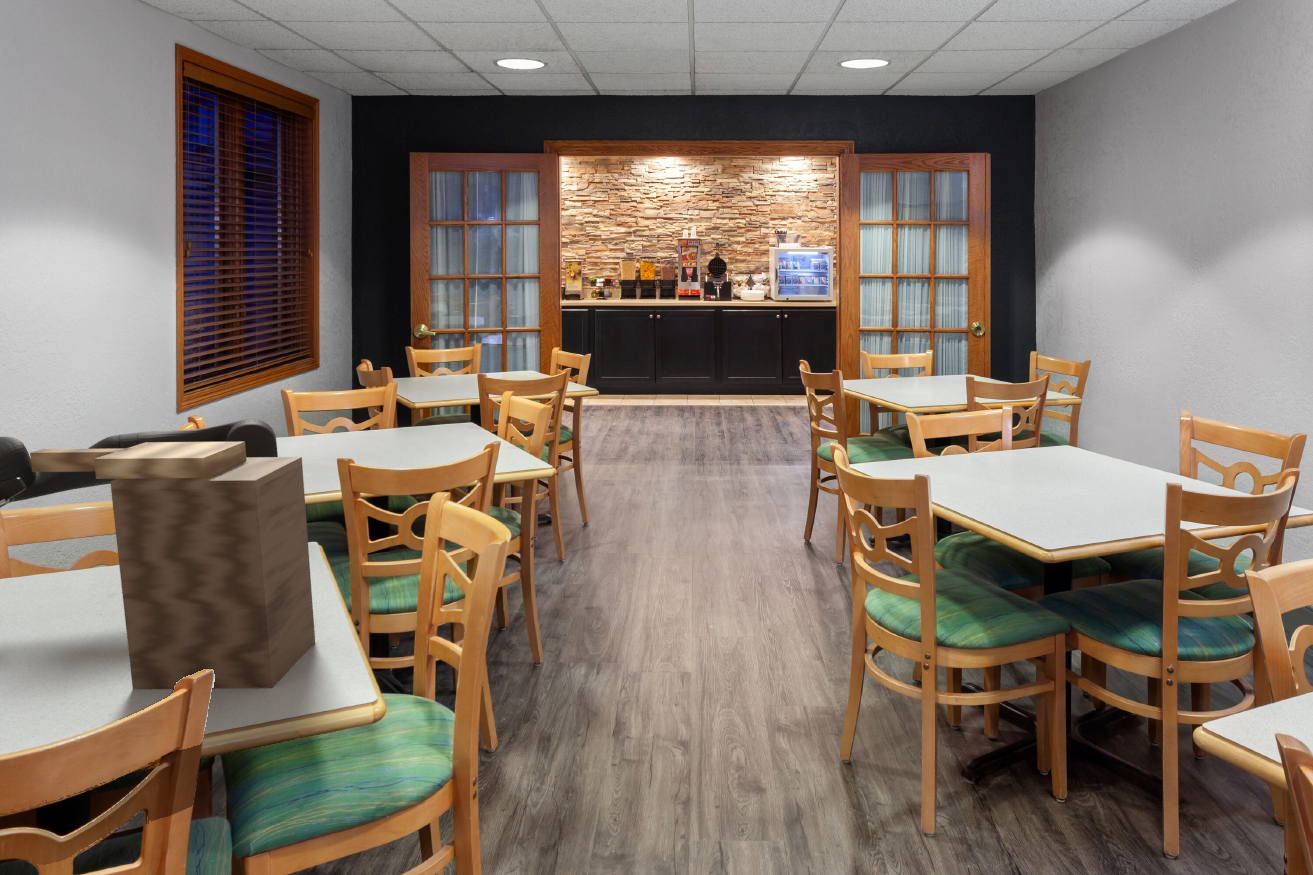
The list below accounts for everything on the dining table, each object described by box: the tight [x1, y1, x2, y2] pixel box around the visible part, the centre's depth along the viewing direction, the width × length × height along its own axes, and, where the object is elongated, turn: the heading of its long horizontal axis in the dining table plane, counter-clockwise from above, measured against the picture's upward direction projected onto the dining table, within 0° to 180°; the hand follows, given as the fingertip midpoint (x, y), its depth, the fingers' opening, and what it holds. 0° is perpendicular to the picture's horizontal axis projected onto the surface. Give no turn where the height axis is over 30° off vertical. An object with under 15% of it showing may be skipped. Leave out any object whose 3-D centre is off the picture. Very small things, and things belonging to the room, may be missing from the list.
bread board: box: [29, 442, 246, 479], centre depth 142 cm, size 29×14×3 cm, turn 90°
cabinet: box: [109, 456, 316, 690], centre depth 145 cm, size 21×18×32 cm
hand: (3, 488), depth 143 cm, fingers open, 8 cm apart
